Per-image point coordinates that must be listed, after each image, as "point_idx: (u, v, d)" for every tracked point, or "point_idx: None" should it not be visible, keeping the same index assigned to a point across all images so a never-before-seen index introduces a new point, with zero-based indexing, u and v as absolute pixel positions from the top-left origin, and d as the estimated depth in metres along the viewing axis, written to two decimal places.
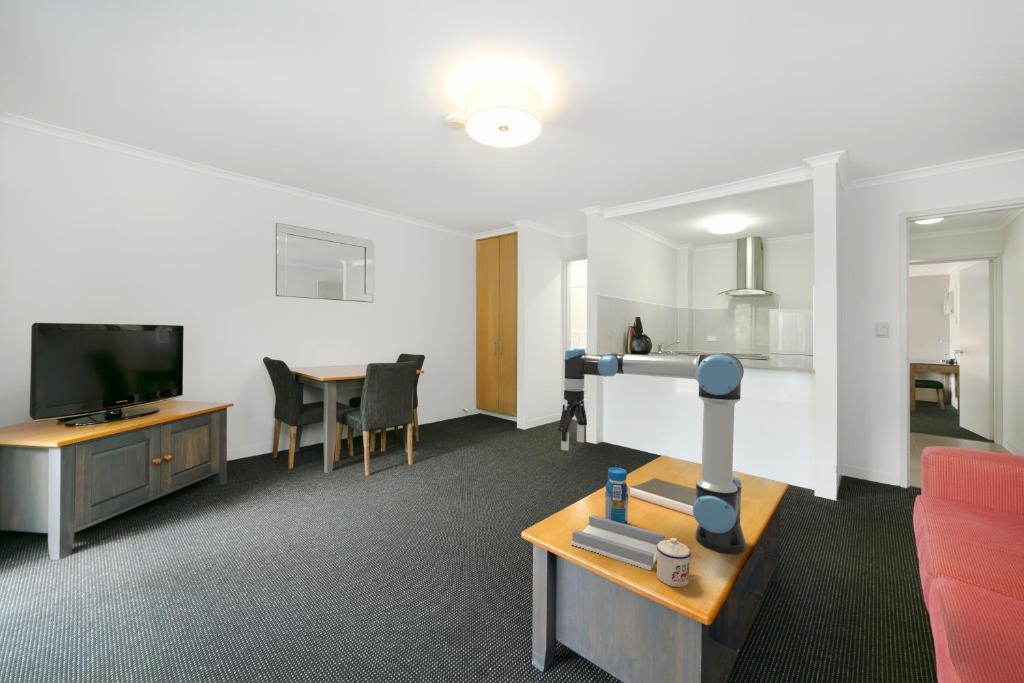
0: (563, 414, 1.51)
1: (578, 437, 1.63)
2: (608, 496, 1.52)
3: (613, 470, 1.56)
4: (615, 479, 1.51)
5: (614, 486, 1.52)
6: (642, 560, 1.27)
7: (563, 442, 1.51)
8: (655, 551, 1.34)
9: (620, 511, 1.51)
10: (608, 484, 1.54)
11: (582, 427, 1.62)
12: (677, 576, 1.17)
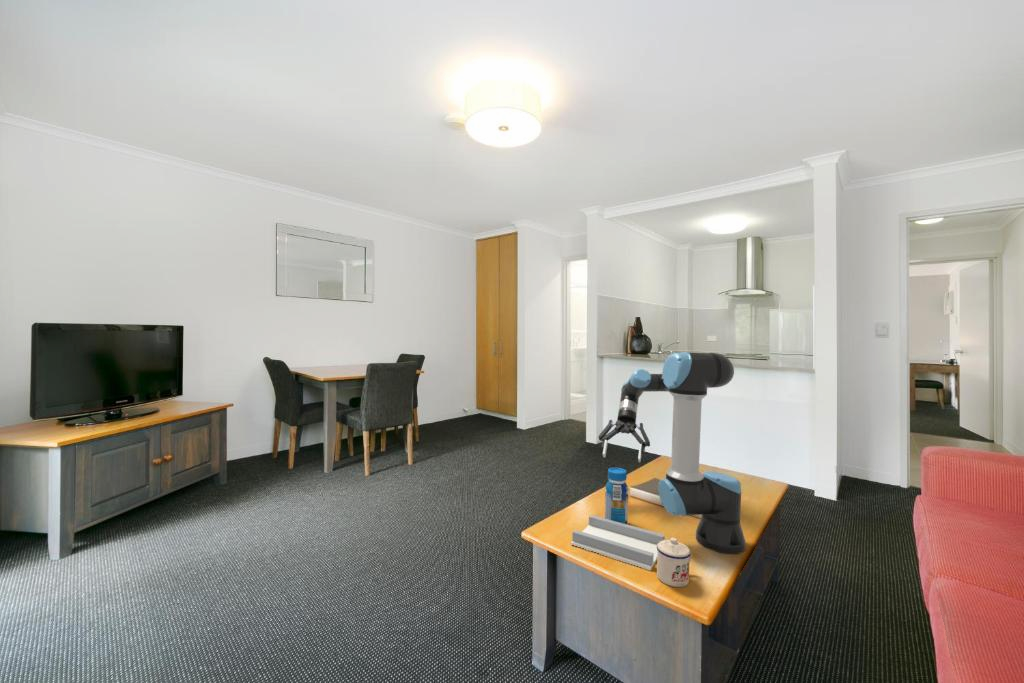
0: None
1: None
2: (608, 496, 1.52)
3: (613, 470, 1.56)
4: (615, 479, 1.51)
5: (614, 486, 1.52)
6: (642, 560, 1.27)
7: None
8: (655, 551, 1.34)
9: (620, 511, 1.51)
10: (608, 484, 1.54)
11: None
12: (677, 576, 1.17)
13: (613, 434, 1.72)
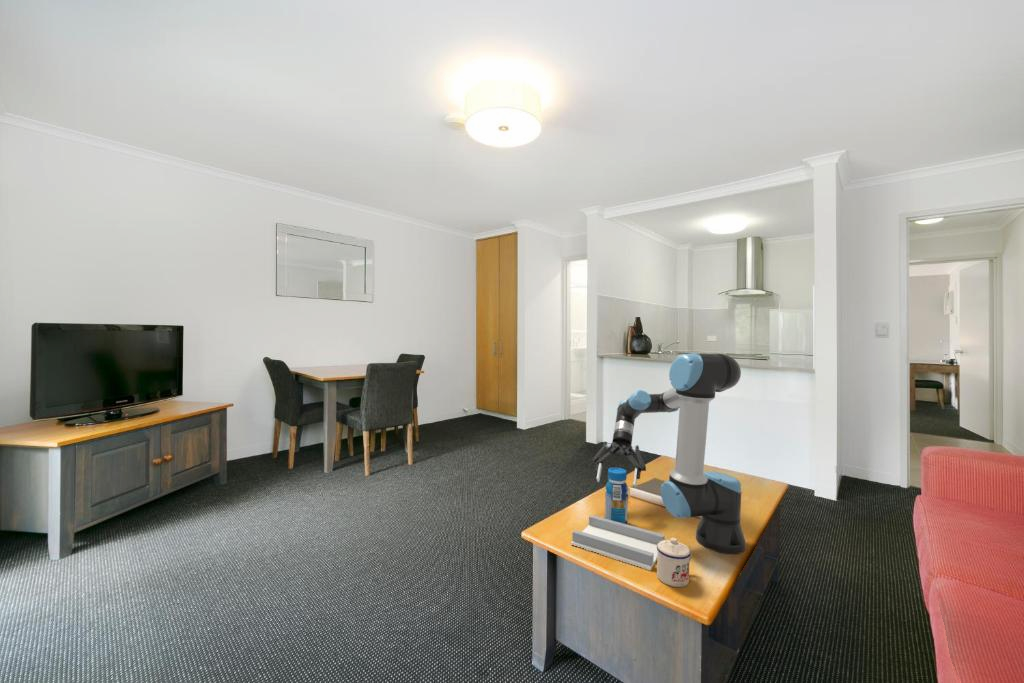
0: None
1: None
2: (608, 496, 1.52)
3: (613, 470, 1.56)
4: (615, 479, 1.51)
5: (614, 486, 1.52)
6: (642, 560, 1.27)
7: None
8: (655, 551, 1.34)
9: (620, 511, 1.51)
10: (608, 484, 1.54)
11: (635, 470, 1.58)
12: (677, 576, 1.17)
13: (608, 457, 1.65)
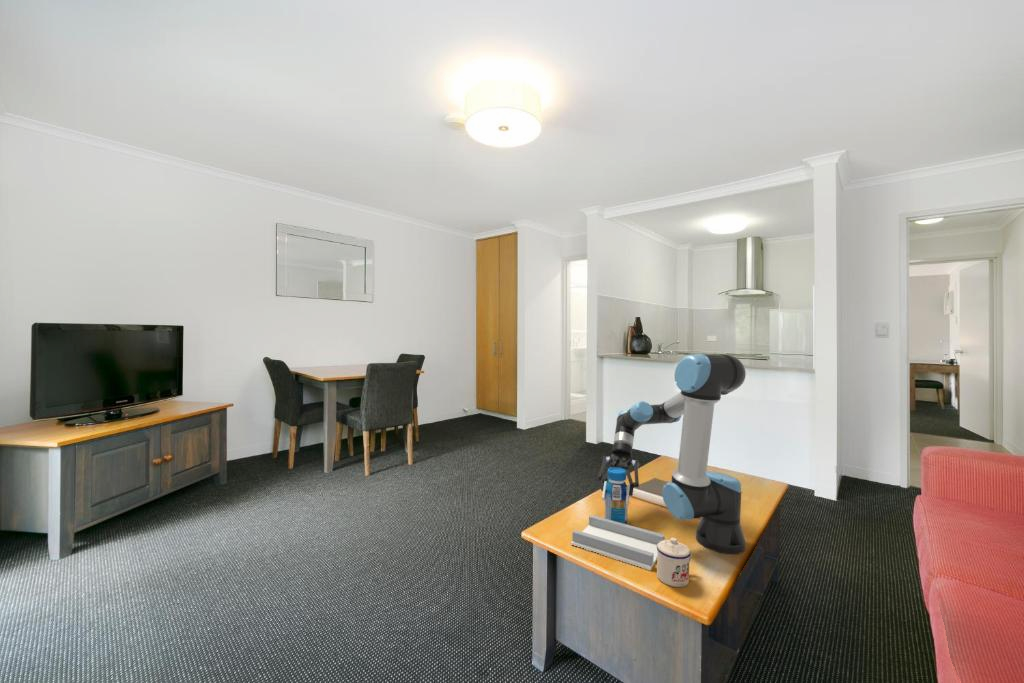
0: None
1: None
2: (608, 496, 1.52)
3: (613, 470, 1.56)
4: (615, 479, 1.51)
5: (613, 486, 1.52)
6: (642, 560, 1.27)
7: None
8: (655, 551, 1.34)
9: (620, 511, 1.51)
10: (608, 484, 1.54)
11: None
12: (677, 576, 1.17)
13: None
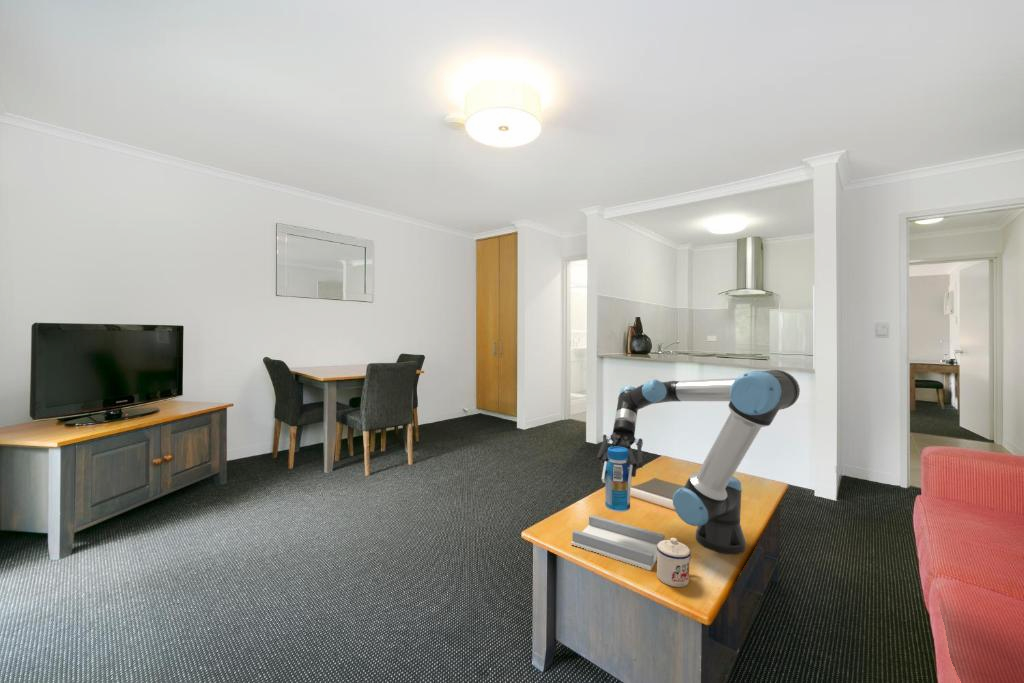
0: None
1: None
2: (608, 477, 1.38)
3: (613, 449, 1.41)
4: (616, 458, 1.37)
5: (614, 466, 1.38)
6: (642, 560, 1.27)
7: None
8: (655, 551, 1.34)
9: (621, 494, 1.37)
10: (608, 464, 1.40)
11: None
12: (677, 576, 1.17)
13: None
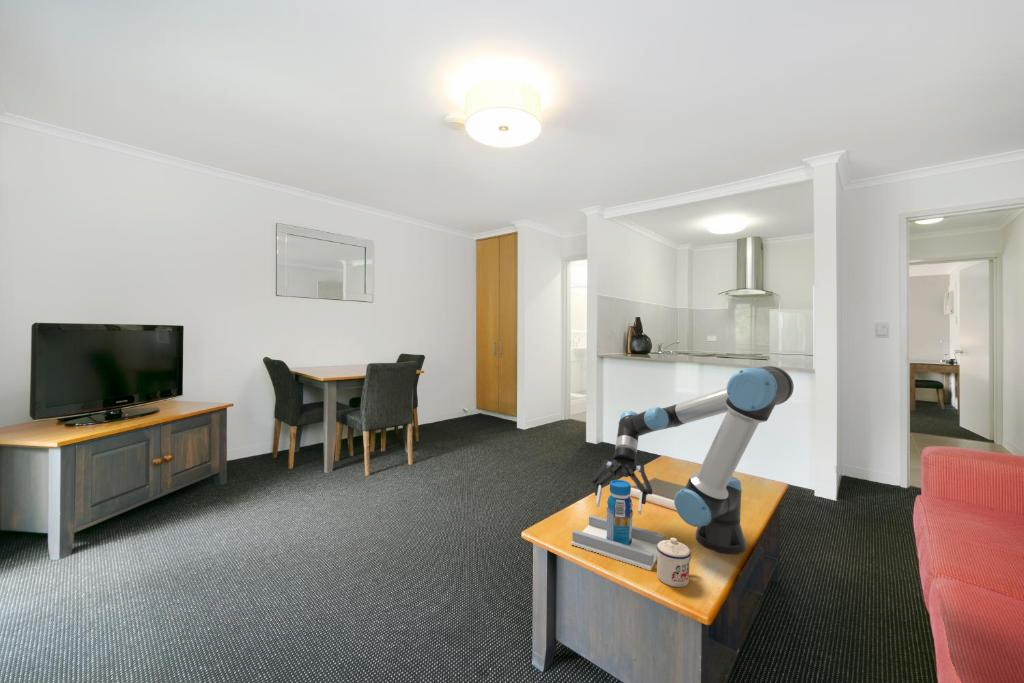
0: None
1: None
2: (610, 512, 1.36)
3: (616, 483, 1.40)
4: (618, 493, 1.35)
5: (616, 501, 1.36)
6: (642, 560, 1.27)
7: None
8: (655, 551, 1.34)
9: (623, 530, 1.35)
10: (610, 499, 1.38)
11: None
12: (677, 576, 1.17)
13: (609, 477, 1.45)
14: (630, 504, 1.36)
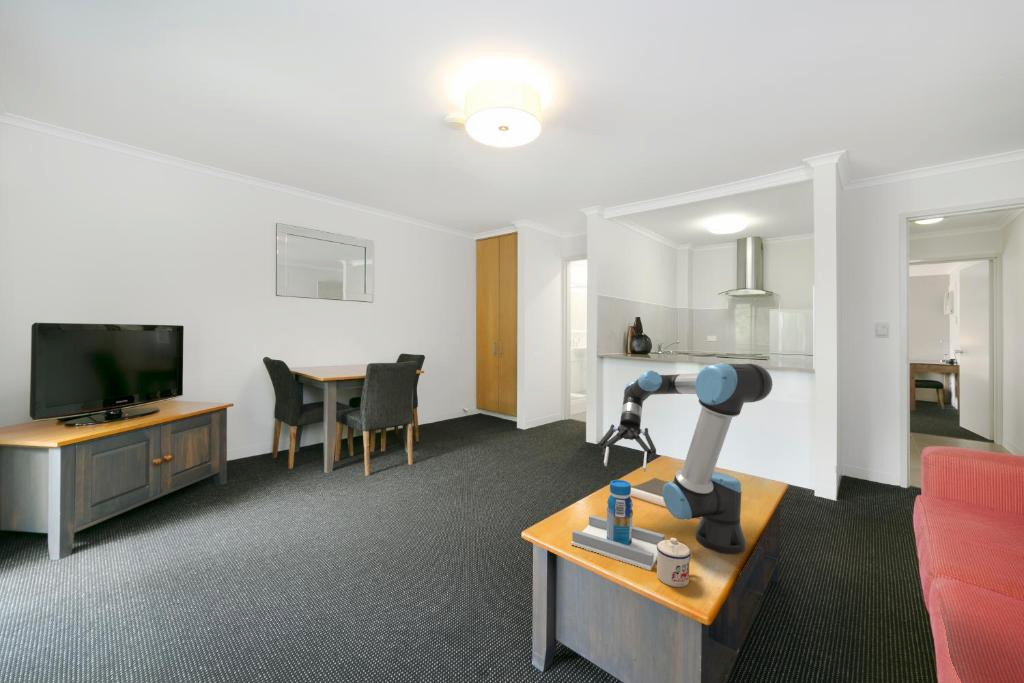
0: None
1: None
2: (610, 512, 1.36)
3: (616, 483, 1.40)
4: (618, 493, 1.35)
5: (616, 501, 1.36)
6: (642, 560, 1.27)
7: None
8: (655, 551, 1.34)
9: (623, 529, 1.35)
10: (610, 498, 1.38)
11: None
12: (677, 576, 1.17)
13: (615, 440, 1.56)
14: (630, 504, 1.36)
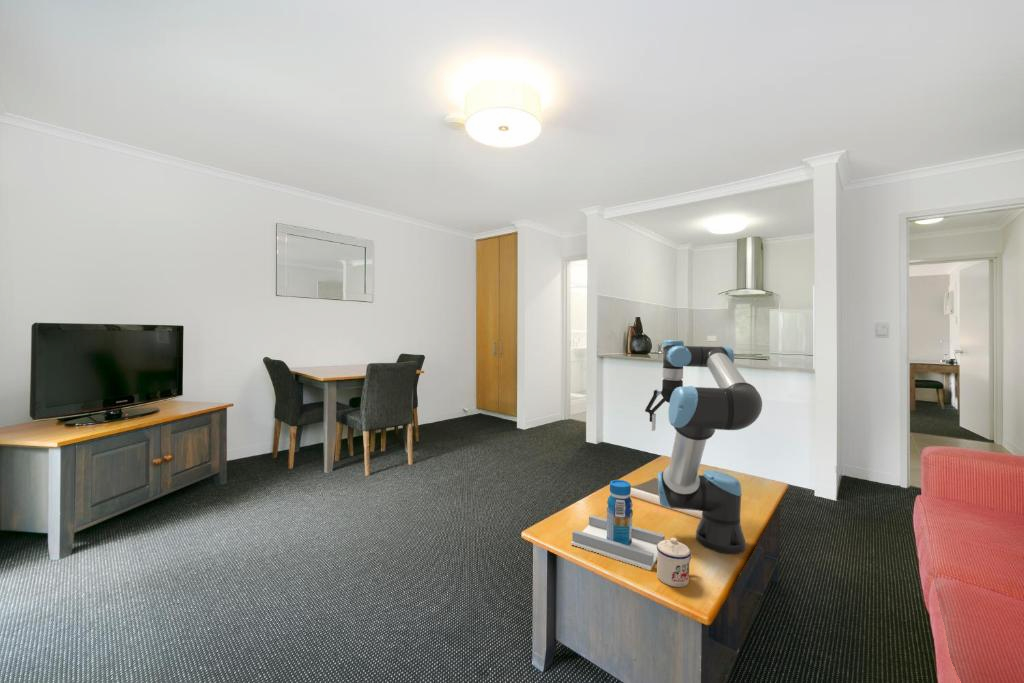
0: None
1: None
2: (610, 512, 1.36)
3: (616, 483, 1.40)
4: (618, 493, 1.35)
5: (616, 501, 1.36)
6: (642, 560, 1.27)
7: None
8: (655, 551, 1.34)
9: (623, 530, 1.35)
10: (610, 499, 1.38)
11: None
12: (677, 576, 1.17)
13: (660, 405, 1.67)
14: (630, 504, 1.36)
